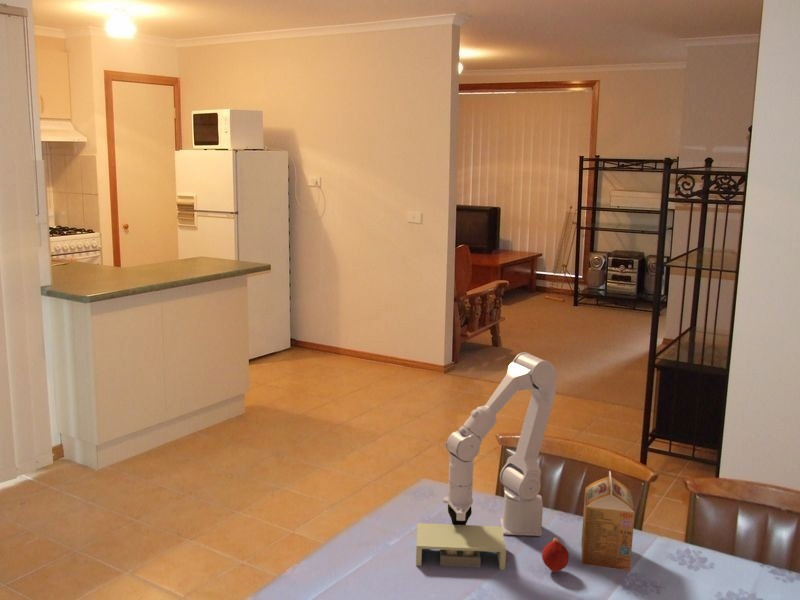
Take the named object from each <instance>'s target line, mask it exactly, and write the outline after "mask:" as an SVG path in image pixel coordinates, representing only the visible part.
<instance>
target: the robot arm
mask: <svg viewBox="0 0 800 600" xmlns="http://www.w3.org/2000/svg"><path fill="white" fill-rule="evenodd" d="M557 375H558V371H557V370H556V368H555V366H554V364H552V362H550V361H548V360H545V359H542V358H540V357H537V356H536V355H532V354H531V353H529V352H527V351H526V352H525V351H524V352H523V351H522V352H520V353H518V354H517V355H516V356H515V357H514V359H513V360H512V362H510V363H509V365H508V366H507V372H506V374H505V376H504V377H503V379H502V380H501V382H500V383H499V385H498V386H497V387H496V389H495V391H493V393H492V395H491V396H490V397H489V399H488V400H487V402H486V403H485V404H484V405H481V406H477V407H476V409H472V411H471V412H470V415H469V417H468V418H467V419H466V421H465V422H464V423H463V424H462V425H461V426H460V427H459V428H458V430H455V431H453V432H452V433H451V434H450V435H449V436H448V438H447V441H446V442H444V446H445V448H446V450H447V452H448V454H449V455H448V457H449V464H448V488H447V490H448V492H447V496H444V497H442V502H443V503H444V504H447V512H448V515H449V517H450V520H451V523H452V524H451V525H467V523H468V521H469V519H470V517H471V516H472V513H473V512H472V511H473V510H472V505H473V503H474V500H473V489H474V488H473V486H474V462H475V460H474V459H475V458H476V457H478V455H479V453H480V449H481V445H482V443H483V440H484V439H485V437H486V436H487V435H488V434H489V432H490V431H491V430H492V429H493V427H494V426H495V425H496V424H497V414H498V413H499V412H501V410H502V409H503V408H504V407H505V405H506V404H508V402H510V400H511V399H512V398H514V396H515V395H516V394H517V393H518V391H524V390H525V391H526V390H529V391H530V393H531V395H530V399H529V403H528V406H527V410H526V414H525V417H524V421H523V424H522V428H521V432H520V435H519V438H518V443H517V446H516V450H515V453H514V454H512V455H511V456H509V457H508V458H507V459H506V463H505V464H504V466H503V467H502V468H501V471H500V473H499V481H500V483H501V484H502V485H503V491H504V497H503V499H504V500H503V514H502V515H503V516H502V517H501V518H500V519H499V521H500V526H501V527H502V531H503V536H504V535H507V536H510V535H511V536H530V537H531V536H532V537H534V536H535V537H542V535H543V534H542V525H543V513H544V511H543V508H544V507H543V506H544V505H543V504H544V503H543V499H542V498H543V497H542V495H540V494H539V493H540V491H541V477H542V476H541V475H542V470H541V468H540V465H539V463H538V457H539V454H540V452H541V451H540V450H541V448H542V443H543V439H544V436H545V433H546V430H547V429H546V428H547V426H548V422H549V419H550V415H551V413H552V408H553V404H554V401H555V398H556V393H557V389H556V388H557V386H556V379H557Z"/></svg>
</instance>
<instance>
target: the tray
mask: <svg viewBox="0 0 800 600" xmlns="http://www.w3.org/2000/svg"><path fill="white" fill-rule="evenodd" d="M439 561H440V562H439V565H440V566H445V567H446V566H447V567H449V566H450V567H451V566H452V567H470V568H471V567H473V568H474V567H475V568H481V561H482V560H481V551H466V550H442V549H439Z"/></svg>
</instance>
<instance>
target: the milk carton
mask: <svg viewBox="0 0 800 600" xmlns="http://www.w3.org/2000/svg"><path fill="white" fill-rule="evenodd" d="M584 490H585V491H584V503H583V517H582V528H581V530H582V531H581V565H585V566H592V567H600V568H608V569H616V570H623V571H631V560H632V549H633V540H634V539H633V536H634V528H635V527H634V525H635V515H636V513H635V505H634V501H633V500H634V499H633V494H632V492H631V491H630V490H629V489H628V487H626V486H625V485H624V484H623V483H621V482H619V481H618V480H616V479H615V478H614V477H612V473H611V471H610V470H609V471H608V476H605V477H603V478H601V479H598V480H596V481H593V482H592V483H590V484H589V485H587V486H585V489H584Z"/></svg>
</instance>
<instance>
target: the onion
mask: <svg viewBox="0 0 800 600" xmlns="http://www.w3.org/2000/svg"><path fill="white" fill-rule="evenodd" d="M569 555H570V554H569V550H568V549H567V547H566V546H565V545H564V544H563V543H562V542H560V541H559V539H558V538H556V537H553V541H550V542H548V543H547V544H546V545H545V546H544V547H543V551H542V554H541V559H542V562H543V564H544V565H545V566H546V567H547V569H549V570H550V571H551V572H552V573H556V572H557V573H558V572H560V571H561V570H563V569H565V568H566V567H567V566H568V562H569V559H570V556H569Z"/></svg>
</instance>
